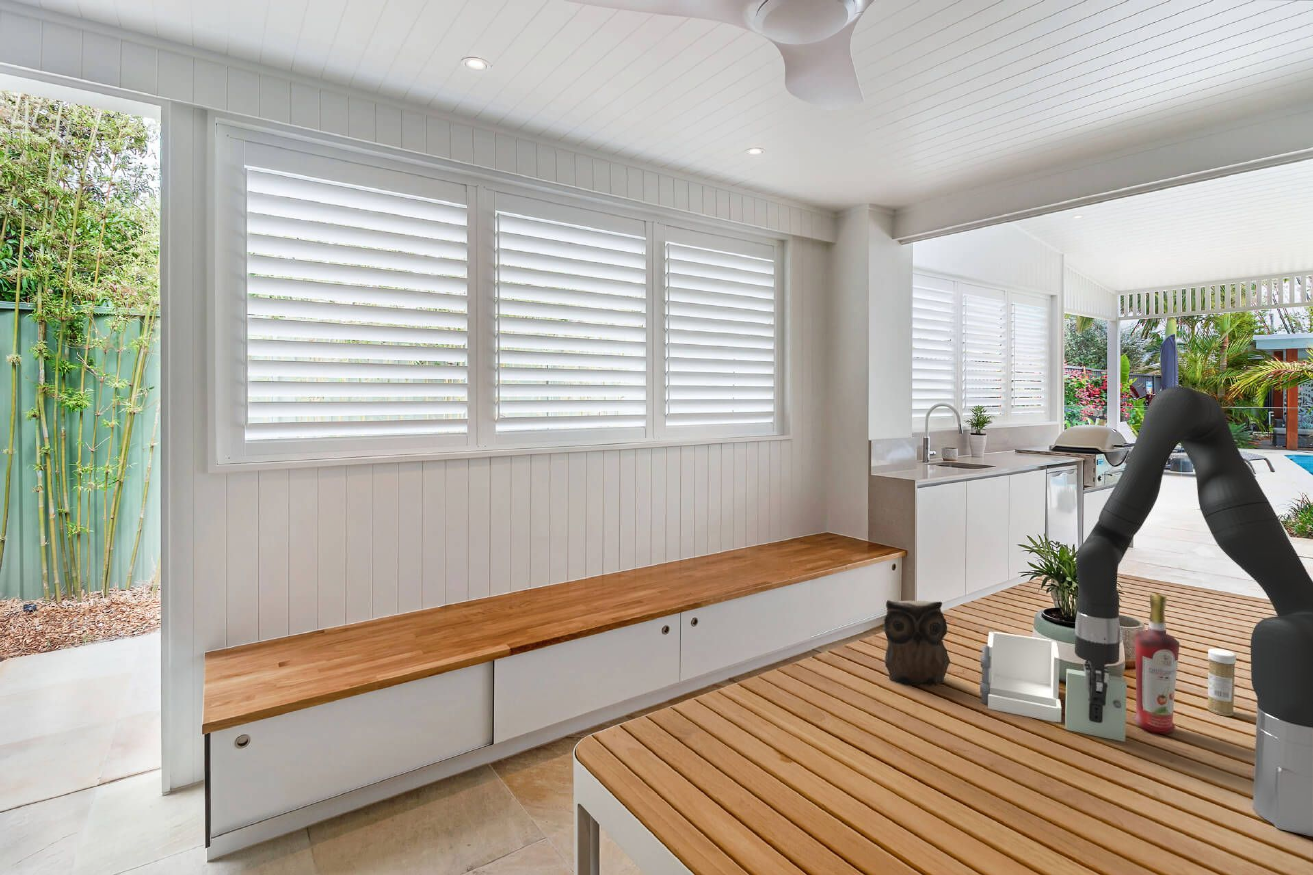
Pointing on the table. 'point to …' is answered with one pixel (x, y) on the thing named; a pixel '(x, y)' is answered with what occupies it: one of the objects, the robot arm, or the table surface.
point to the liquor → (1156, 671)
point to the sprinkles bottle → (1221, 682)
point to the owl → (915, 642)
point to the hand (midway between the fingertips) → (1094, 717)
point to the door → (1079, 707)
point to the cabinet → (1021, 676)
